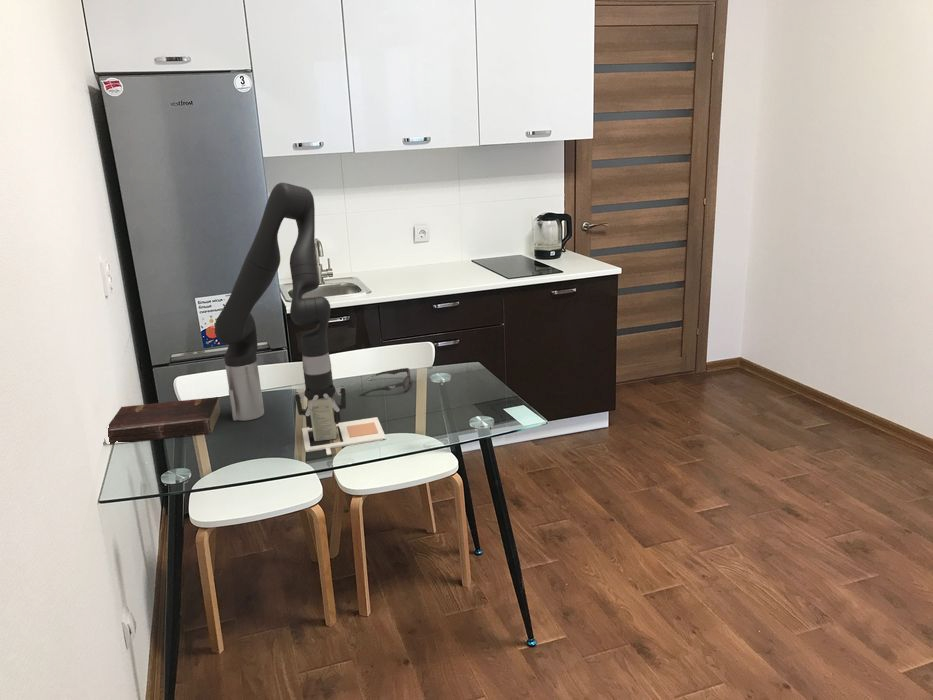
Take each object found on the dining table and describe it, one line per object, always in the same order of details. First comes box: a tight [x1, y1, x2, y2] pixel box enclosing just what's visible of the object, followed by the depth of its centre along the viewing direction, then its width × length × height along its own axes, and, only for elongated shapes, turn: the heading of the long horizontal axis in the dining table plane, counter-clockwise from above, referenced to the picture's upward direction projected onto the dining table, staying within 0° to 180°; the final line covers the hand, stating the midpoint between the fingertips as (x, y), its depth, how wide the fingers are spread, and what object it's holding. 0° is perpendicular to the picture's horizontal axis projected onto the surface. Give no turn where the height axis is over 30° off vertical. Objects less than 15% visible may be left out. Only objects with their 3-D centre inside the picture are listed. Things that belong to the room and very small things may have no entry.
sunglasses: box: [357, 367, 411, 397], centre depth 246 cm, size 16×17×5 cm
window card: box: [301, 416, 386, 456], centre depth 209 cm, size 22×20×1 cm
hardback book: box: [108, 396, 222, 446], centre depth 222 cm, size 29×19×5 cm, turn 99°
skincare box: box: [307, 397, 338, 442], centre depth 208 cm, size 6×4×12 cm
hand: (323, 425), depth 208 cm, fingers closed on skincare box, 6 cm apart
